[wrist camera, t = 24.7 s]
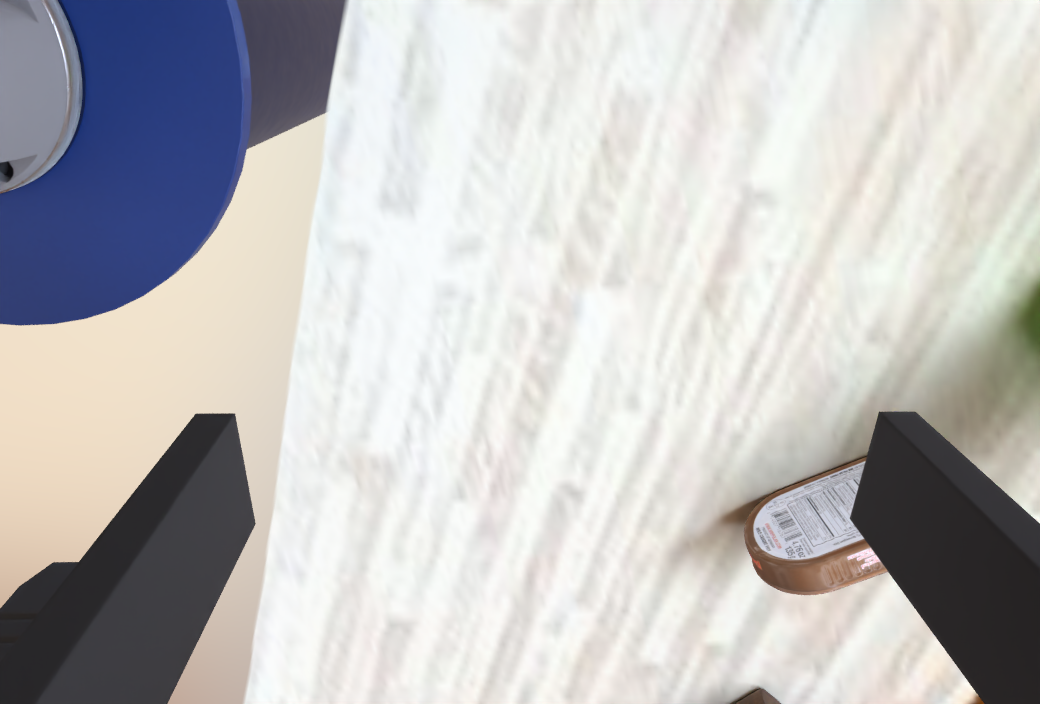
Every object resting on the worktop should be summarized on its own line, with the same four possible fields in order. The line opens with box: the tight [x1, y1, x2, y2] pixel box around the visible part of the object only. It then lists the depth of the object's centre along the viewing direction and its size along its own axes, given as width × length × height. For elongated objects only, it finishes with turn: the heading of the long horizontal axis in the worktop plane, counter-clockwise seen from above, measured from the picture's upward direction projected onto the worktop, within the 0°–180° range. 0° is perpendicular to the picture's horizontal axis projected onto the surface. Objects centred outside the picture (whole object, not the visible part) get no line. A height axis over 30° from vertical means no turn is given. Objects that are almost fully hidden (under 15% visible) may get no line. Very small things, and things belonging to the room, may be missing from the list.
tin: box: [744, 457, 888, 595], centre depth 46 cm, size 15×3×8 cm, turn 116°
